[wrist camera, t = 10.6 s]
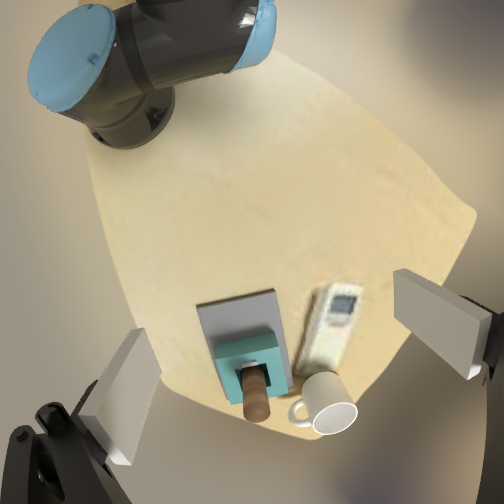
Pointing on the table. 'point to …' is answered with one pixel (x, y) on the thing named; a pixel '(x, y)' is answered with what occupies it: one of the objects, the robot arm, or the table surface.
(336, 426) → the mug
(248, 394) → the wooden rounded dowel
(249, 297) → the board
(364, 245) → the table surface
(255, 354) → the teal square peg holder
